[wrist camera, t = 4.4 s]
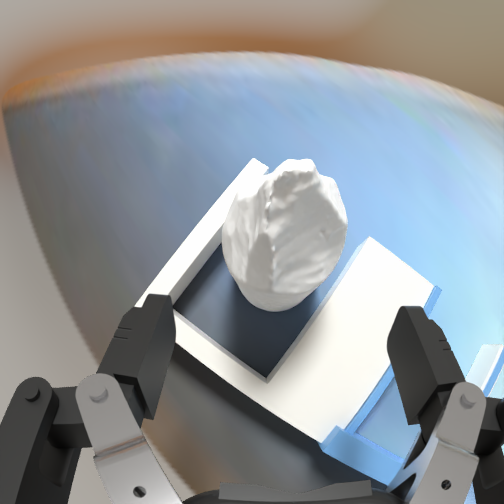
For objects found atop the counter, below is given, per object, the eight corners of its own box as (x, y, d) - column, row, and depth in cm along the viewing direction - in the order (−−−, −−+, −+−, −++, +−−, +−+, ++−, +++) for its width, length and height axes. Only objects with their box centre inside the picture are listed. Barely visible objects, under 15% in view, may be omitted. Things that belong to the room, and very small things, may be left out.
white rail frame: (253, 175, 23) (252, 149, 19) (490, 351, 19) (518, 351, 16) (145, 312, 21) (125, 308, 17) (407, 484, 17) (427, 503, 14)
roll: (347, 318, 9) (167, 237, 9) (296, 325, 20) (216, 289, 21) (402, 150, 10) (253, 89, 11) (331, 242, 22) (255, 209, 22)
